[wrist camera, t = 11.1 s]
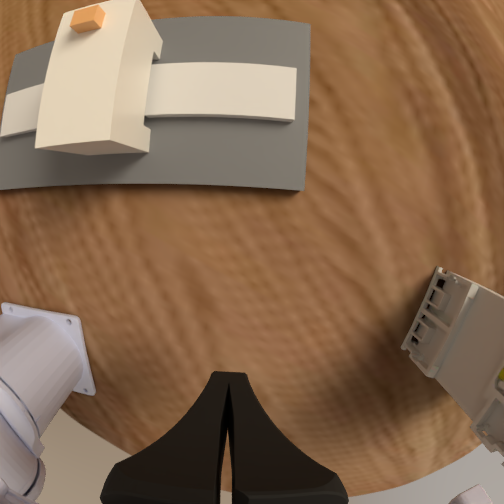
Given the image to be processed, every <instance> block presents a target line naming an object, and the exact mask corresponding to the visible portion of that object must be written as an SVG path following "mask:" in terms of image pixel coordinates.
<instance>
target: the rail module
mask: <svg viewBox="0 0 504 504" xmlns="http://www.w3.org/2000/svg"><path fill="white" fill-rule="evenodd" d="M162 43H163V40H162V39H161V37H160V35H159V33H158V31H157V30H156V28H155V26H154V24H153V23H152V21H151V19H150V17H149V15H148V14H147V12H146V10H145V8H144V7H143V5H142V3H141V1H140V0H111V1H106V2H102V3H98V4H94V5H90V6H87V7H83V8H79V9H76V10H73V11H70V12H66V13H64V14H63V17H62V20H61V23H60V26H59V29H58V32H57V35H56V39H55V42H54V46H53V49H52V53H51V57H50V60H49V64H48V69H47V73H46V77H45V82H44V87H43V92H42V98H41V103H40V110H39V116H38V124H37V132H36V141H35V148H37V149H45V150H53V151H60V152H68V153H75V154H82V155H101V154H120V153H149V144H150V132H151V129H149V128H147V127H146V126H144V115H145V107H146V98H147V91H148V83H149V77H150V70H151V64H152V60H159V59H160V54H161V49H162Z"/></svg>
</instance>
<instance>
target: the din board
mask: <svg viewBox="0 0 504 504" xmlns="http://www.w3.org/2000/svg"><path fill="white" fill-rule="evenodd" d="M151 21H152V23H153V24H154V26H155V28H156V30H157V31H158V33H159V35H160V37H161V39H162V40H163V43H162V49H161V54H160V59H159V60H152V64H151V70H150V77H149V83H148V91H147V98H146V107H145V115H144V126H146V127H147V128H149V129H151V132H150V144H149V153H120V154H101V155H82V154H75V153H68V152H60V151H53V150H45V149H37V148H35V141H36V132H37V124H38V116H39V110H40V103H41V98H42V92H43V87H44V82H45V77H46V73H47V69H48V64H49V60H50V57H51V53H52V49H53V46H54V42H55V41H52V42H49V43H46V44H43V45H40V46H37V47H35V48H32V49H29V50H27V51H24V52H21V53H19V54H16V55H15V59H14V62H13V66H12V70H11V74H10V78H9V82H8V87H7V92H6V96H5V102H4V107H3V113H2V120H1V127H0V190H5V189H17V188H29V187H44V186H62V185H85V184H199V185H225V186H244V187H260V188H275V189H288V190H300V191H304V187H305V172H306V156H307V138H308V116H309V86H310V24H307V23H301V22H294V21H286V20H277V19H267V18H254V17H233V16H200V17H179V18H166V19H156V20H151Z"/></svg>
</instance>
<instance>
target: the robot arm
mask: <svg viewBox="0 0 504 504" xmlns="http://www.w3.org/2000/svg"><path fill="white" fill-rule="evenodd" d="M1 308H2V312H3V314H1V315H0V504H38V503H36V502H34V501H35V500H36V499H37V498H38V496H39V495H40V493H41V491H42V489H43V485H44V481H45V475H46V471H45V465H44V464H43V461H42V460H41V459H40V458H39V456H40V455H41V453H42V452H43V450H44V448H45V447H44V446H43V445H42V443H41V441H40V440H39V438H40V437H41V436H42V434H43V432H44V431H45V429H46V428H47V426H48V425H49V423H50V422H51V420H52V419H53V417H54V416H55V415H56V413H57V412H58V410H59V409H60V407H61V406H62V404H63V403H64V402H65V400H66V399H67V397H68V396H69V394H70V393H71V392H72V391H75V392H79V393H83V394H87V395H91V396H93V395H95V393H96V389H95V385H94V381H93V377H92V373H91V369H90V365H89V361H88V356H87V352H86V347H85V342H84V337H83V331H82V326H81V321H80V319H79V318H78V317H77V316H75V315H69V314H63V313H57V312H52V311H46V310H41V309H36V308H31V307H26V306H21V305H17V304H12V303H7V302H4V303H2V305H1ZM12 309H13V310H12ZM69 320H71V322H72V323H71V322H70V321H69ZM227 430H228V436H229V447H230V457H231V467H232V504H348V502H349V500H348V495H347V492H346V490H345V488H344V486H343V484H342V482H341V480H340V478H339V477H338V475H337V474H336V473H335V472H333V471H331V470H329V469H327V468H326V467H324V466H322V465H320V464H319V463H317V462H315V461H314V460H313V459H311V458H310V457H308V456H307V455H306V454H304V453H303V452H302V451H301V450H300V449H298V448H297V447H296V446H295V445H294V444H293V443H291V442H290V441H289V440H288V439H287V438H286V437H285V436H284V435H283V434H282V432H281V431H280V430H279V429H278V428H277V427H276V426H275V424H274V423H273V422H272V421H271V419H270V418H269V416H268V415H267V414H266V412H265V411H264V409H263V408H262V406H261V404H260V403H259V401H258V399H257V397H256V396H255V394H254V392H253V390H252V387H251V385H250V383H249V380H248V377H247V374H245V373H240V372H219V371H214V372H213V373H212V374H211V377H210V379H209V381H208V383H207V385H206V386H205V388H204V390H203V391H202V393H201V394H200V396H199V397H198V399H197V400H196V402H195V403H194V404H193V406H192V407H191V408H190V409H189V411H188V412H187V413H186V414H185V415H184V417H183V418H182V419H181V420H180V421H179V422H178V423H177V424H176V425H175V426H174V427H173V428H172V429H170V430H169V431H168V432H167V433H166V434H165V435H163V436H162V437H161V438H160V439H158V440H157V441H156V442H154V443H153V444H151V445H150V446H148V447H146V448H145V449H143V450H142V451H140V452H139V453H137V454H135V455H133V456H131V457H129V458H127V459H125V460H123V461H121V462H119V463H116V464H115V465H114V467H113V468H112V470H111V472H110V473H109V475H108V477H107V479H106V481H105V483H104V487H103V489H102V492H101V495H100V500H101V502H102V503H103V504H220V490H221V471H222V464H223V457H224V450H225V444H226V437H227ZM449 504H493V502H492V501H491V499H490V498H489V496H488V495H487V493H486V492H485V490H484V489H483V487H482V486H481V484H478V485H476V486H474V487H472V488H470V489H468V490H466V491H464V492H462V493H460V494H459V495H457V496H456V497H455V498H454V499H452V500H451V502H450V503H449Z"/></svg>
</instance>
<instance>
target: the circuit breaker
mask: <svg viewBox="0 0 504 504" xmlns="http://www.w3.org/2000/svg"><path fill="white" fill-rule="evenodd" d="M442 269H443V268H441V267H439V266H437V268H436V270H435V273H434V275H433V278H432V280H431V283H430V285H429V288H428V290H427V292H426V295H425V297H424V299H423V302H422V304H421V306H420V308H419V311H418V313H417V315H416V317H415V319H414V321H413V323H412V326H411V328H410V330H409V332H408V334H407V336H406V338H405V340H404V342H403V344H402V345H401V347H400V348H401V349H402V350H406V349H408V350H409V351H410V352H411V353H410V355H409V358H410V359H411V360H412V361H413V362H414V363H415V364H416V365H417V366H418V368H419V369H420V370H421V371H422V372H423V373H424V374H425V375H426V376H427V377H430V378H435V379H436V380H437V381H438V382H439V383H440V384H441V385H442V387H443V388H444V389H445V390H446V391H447V392H448V393H449V394H450V395H451V397H452V398H453V399H454V400H455V401H456V402H457V403H458V405H459V406H460V407H461V408H462V409H463V410H464V411H465V413H466V414H467V415H468V416H469V417H470V418H471V420H472V421H473V423H472V424H471V426H470V428H471V429H472V431H473V432H474V433H475V434H476V435H477V437H478V438H479V439H480V440H481V442H482V443H483V444H484V445H485V447H486V448H487V449H488V450H489V451H490V452H495V451H499V452H500V453H501V455H502V456H503V457H504V297H503V296H501V295H500V294H498V293H496V292H494V291H492V290H490V289H488V288H486V287H484V286H482V285H480V284H477V283H475V282H473V281H471V280H468V279H466V278H464V277H462V276H459V275H457V274H455V273H453V272H450V271H448V270H447V272H446V274H443V273H441V272H442ZM438 279H443V280H445V283H444V285H443V288H440V287H438V286H436V284H437V282H438ZM433 290H435V292H434V294H433V297H432V299H431V301H430V300H429V299H430V297H431V295H432V292H433ZM428 303H429V304H430V306H429V309H427V306H428ZM423 314H424V315H425V317H424V319H422V316H423ZM419 322H420V325H419V327H418V329H417V331H416V332H414V331H415V329H416V327H417V325H418V323H419ZM413 336H414V337H415V338H416V339H418V342H416V341H413V340H411V339H412V337H413ZM419 360H420V361H419ZM422 361H423V362H422ZM482 431H486V433H487V434H488V436H485V434H484V433H483V432H482ZM502 465H503V466H504V462H503V463H502Z"/></svg>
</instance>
